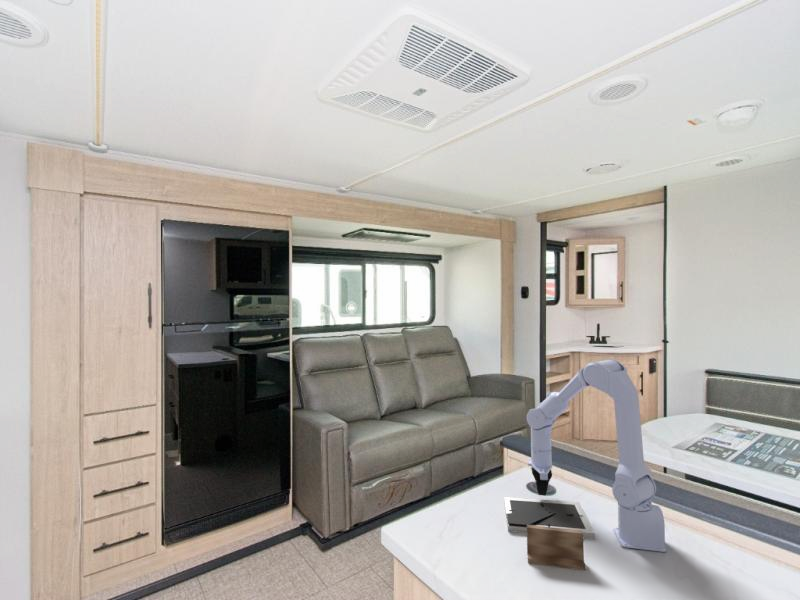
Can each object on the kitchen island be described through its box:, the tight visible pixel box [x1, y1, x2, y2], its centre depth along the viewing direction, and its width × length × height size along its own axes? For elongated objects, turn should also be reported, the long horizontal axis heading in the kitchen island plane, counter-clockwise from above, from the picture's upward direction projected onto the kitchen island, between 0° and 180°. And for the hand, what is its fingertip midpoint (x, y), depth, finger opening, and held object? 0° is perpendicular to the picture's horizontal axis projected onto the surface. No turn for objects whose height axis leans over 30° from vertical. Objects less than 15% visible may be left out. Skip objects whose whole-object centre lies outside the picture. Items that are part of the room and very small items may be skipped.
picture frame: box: [503, 496, 595, 540], centre depth 111 cm, size 16×3×21 cm
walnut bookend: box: [526, 525, 587, 571], centre depth 92 cm, size 12×3×7 cm, turn 76°
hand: (541, 494), depth 122 cm, fingers closed
